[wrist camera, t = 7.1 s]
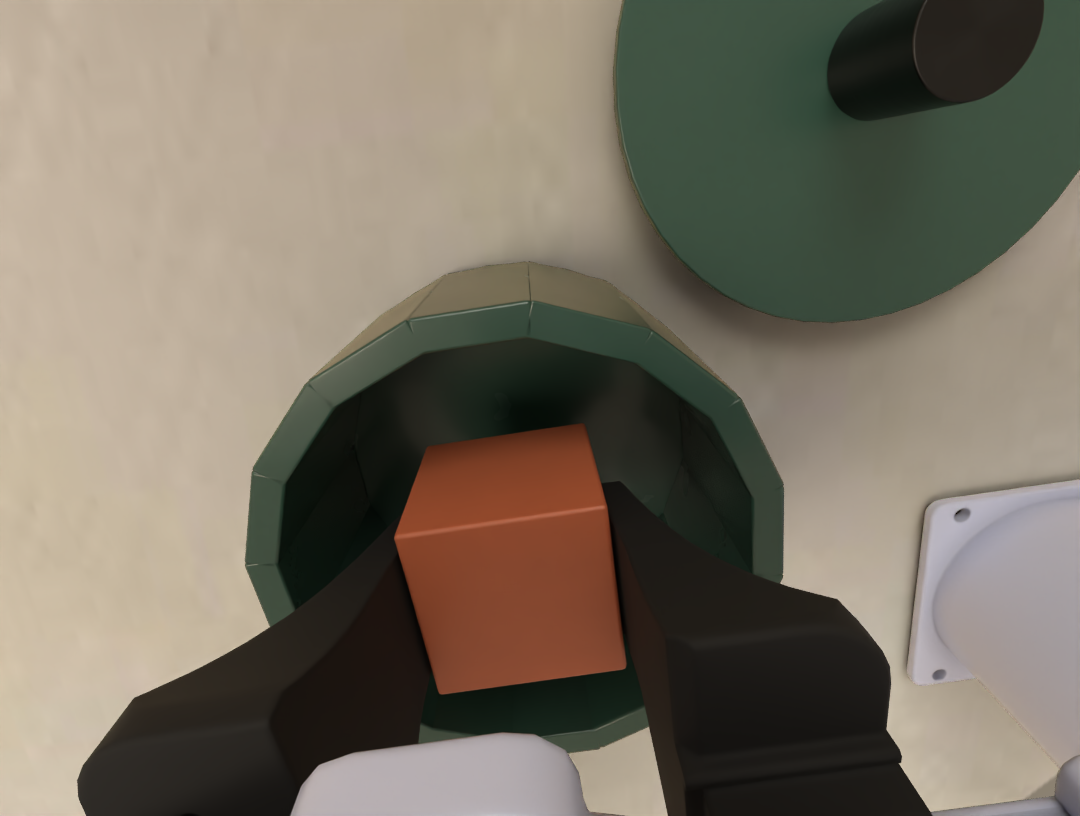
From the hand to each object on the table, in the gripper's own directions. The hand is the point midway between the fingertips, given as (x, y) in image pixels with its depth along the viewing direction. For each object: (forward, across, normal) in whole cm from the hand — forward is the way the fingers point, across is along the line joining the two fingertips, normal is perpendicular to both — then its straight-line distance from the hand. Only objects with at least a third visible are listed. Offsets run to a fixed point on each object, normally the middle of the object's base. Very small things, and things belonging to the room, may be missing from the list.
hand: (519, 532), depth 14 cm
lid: (+4, -10, -9) cm, 14 cm away
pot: (+5, 0, 0) cm, 5 cm away
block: (+1, 0, 0) cm, 1 cm away
